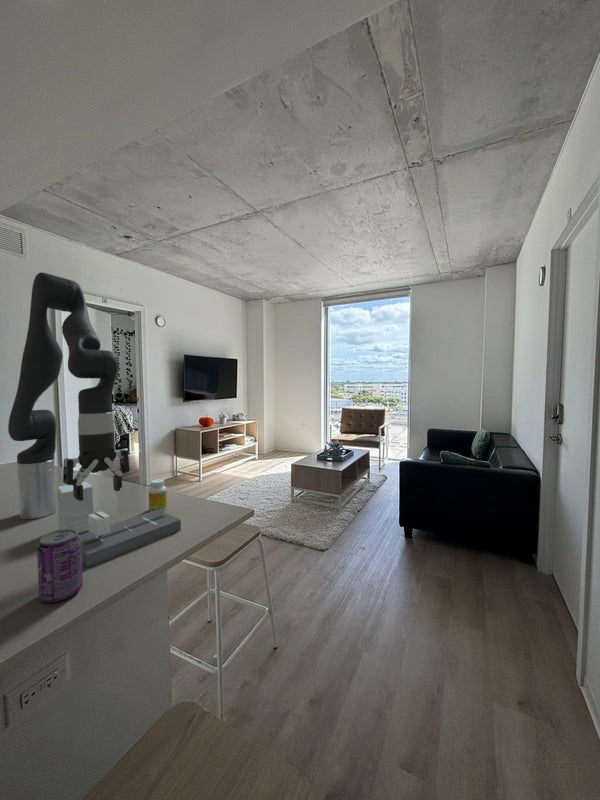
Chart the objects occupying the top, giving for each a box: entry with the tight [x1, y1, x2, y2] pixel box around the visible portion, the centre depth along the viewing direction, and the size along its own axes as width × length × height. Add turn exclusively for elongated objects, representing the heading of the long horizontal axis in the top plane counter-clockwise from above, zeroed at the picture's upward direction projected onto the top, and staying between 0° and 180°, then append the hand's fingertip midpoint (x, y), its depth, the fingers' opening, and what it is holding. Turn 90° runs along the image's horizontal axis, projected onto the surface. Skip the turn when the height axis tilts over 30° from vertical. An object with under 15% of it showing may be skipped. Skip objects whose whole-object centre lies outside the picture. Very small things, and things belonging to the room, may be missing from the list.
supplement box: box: [56, 480, 94, 534], centre depth 94 cm, size 7×7×13 cm
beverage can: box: [36, 529, 84, 603], centre depth 66 cm, size 7×7×12 cm
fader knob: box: [88, 511, 111, 538], centre depth 83 cm, size 5×3×6 cm, turn 53°
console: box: [78, 510, 182, 568], centre depth 89 cm, size 12×24×3 cm, turn 143°
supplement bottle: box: [148, 478, 168, 512], centre depth 109 cm, size 5×5×10 cm
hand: (99, 495), depth 82 cm, fingers open, 8 cm apart
